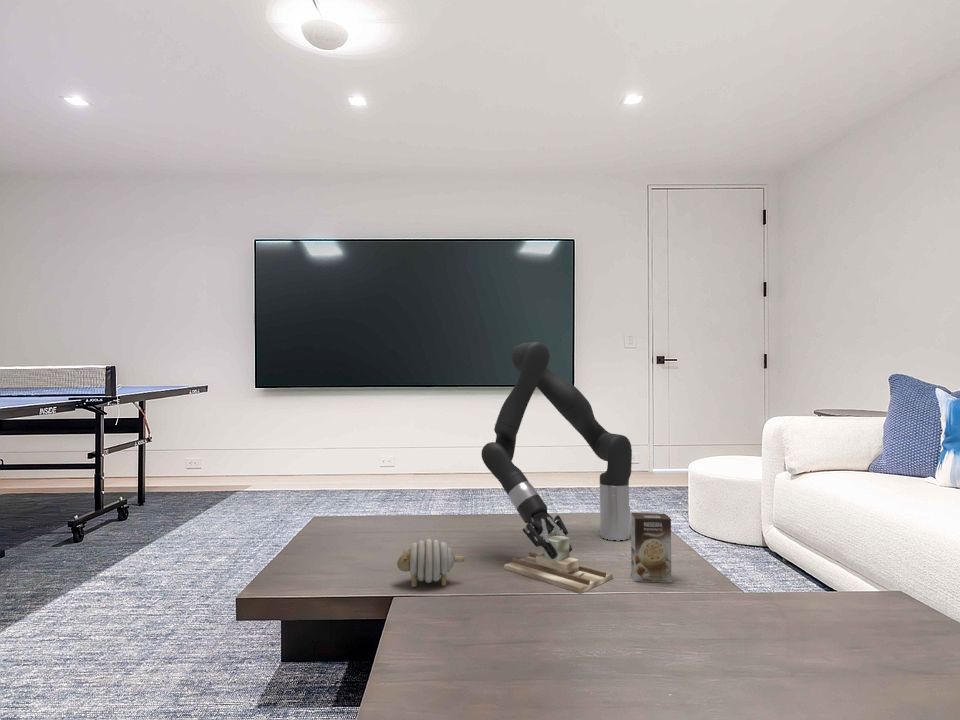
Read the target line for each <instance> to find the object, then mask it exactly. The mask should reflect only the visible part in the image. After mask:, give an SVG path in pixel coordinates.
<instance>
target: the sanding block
mask: <svg viewBox="0 0 960 720" xmlns="http://www.w3.org/2000/svg"><path fill="white" fill-rule="evenodd" d="M548 539H549V543H551V544H552V546H553V547H554V549H555V550H556V552H557V553H558V556H557V557H556V558H555V559H551V558H550V557H549V555H548V554H547V552H546V551H545V550H544V553H540V554H541V555H538V556H536V564H537V565H540V566H543V567H547V568H550V569H554V570H557V571H561V572H564V573H567V574H573V573H575V572H578V571H579V565H580V559H578V558H574V557H572V556H571V557H570V554H571V552H569V544H570V537H567V536H565V537H564V536H560V535H559V534H557V535H555V536H552V537H551V536H548Z"/></svg>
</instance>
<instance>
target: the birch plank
mask: <svg viewBox="0 0 960 720" xmlns="http://www.w3.org/2000/svg"><path fill="white" fill-rule="evenodd" d="M541 554H542V553H538V552H537V553H536V552H532V551H529V552H528V556H526V557H522V558H520V559H519V558H516V557H512V558H511V562H509V563H505V564H504V565H503V566H504V568H503V569H504V570H506V571H509V572H512V573H515V574H518V575H522V576H526V577H528V578H531V579H534V580H538V581H540V582H543V583H547V584H549V585H553V586H556V587H559V588H563V589H566V590H569V591H571V592H574V593H579V594H582V592H583V593H585V592H587V591H589V590H591V589H593V588H596V587H597V586H600V585H601V584H604V583H606V582H608V581H610V580H613V579H614V578H613V577H614V575H613V573H611V572H607V571H603V570H602V569H601V570H600V569H596V568H592V567H589V566H586V565H582V564H579V571H578V572H575V573H573V574H567V573H564V572H561V571H557V570H554V569H550V568H547V567H543V566H540V565H537V564H536V556H538V555H541Z"/></svg>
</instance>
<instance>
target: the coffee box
mask: <svg viewBox="0 0 960 720" xmlns="http://www.w3.org/2000/svg"><path fill="white" fill-rule="evenodd" d="M630 522H631V536H630V542H631V545H630V547H631V548H630V550H631V555H630V556H631V558H630V559H631V560H630V561H631V562H630V563H631V564H630V566H631V567H630V568H631V569H630V571H631V572H630V573H631V576H632V577H633V580H634V581H635V582H638V583H641V582H644V583H665V584H668V583H673V582H672V518H671V517H670V516H669V515H667V514H666V513H656V512H655V513H652V512H630Z"/></svg>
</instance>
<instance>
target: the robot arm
mask: <svg viewBox="0 0 960 720" xmlns="http://www.w3.org/2000/svg"><path fill="white" fill-rule="evenodd" d="M510 357H511V362H512V364H513V366H514V368H515V369H516V370H517V371H518V372H519V373H520V374H519V376H518V379H517V381H516V383H515V385H514V387H513V388H512V390H511V391H510V393H509V394H508V396H507V398H506V399H505V401H504V402H503V404H502V405H501V408H500V411H499V413H498V415H497V419H496V421H495V424H494V427H493V428H494V429H493V431H494V433H495V434H496V435H495V436H496V437H495V442H493V441H491V442H488V443H485V445H484V446H483V447H482V449H481V459H482V462H483V464H484V465H485V466H486V468H487V469H488V470H489V472H490V473H491V474H492V475H493V476H494V477H495V479H497V480H498V482H499V483H500V485H501V487H502V489H503V490H504V492H505V493H506V495H507V497H509V500H510V502H511V504H512V505H513V506H514V508H515V510H516V511H517V513H518V515H519V516H520V517H521V520H522V521H523V522H524V524H526V525H525V526H524V527H523V528H522V532H523V533H524V535H526V537H527V538H528V539H529V540H530V541H531V543H532V544H533V545H534V546H535V547H536V548H538V547H541V548H542V549H543V550H544V552H545V551H546V552H547V554H548V555H549V557H550V558H551V559H555V558H556V557H557V556H558V553H557V552H556V550H555V549H554V547H553V546H552V544H551V543H549V539H548V538H549V537H552V536H555V535H560V536H564V537H567V535H568V534H569V531H568V529H567V528H566V526H565V523H564V522H563V519H562V518H561V516H560V515H558V514H557V515H556V516H554V517H553V516H552V515H550V514H549V513H548V506H547V505H546V503H545V501H544V500H543V499H542V497H541V496H540V494H539V492H538V491H537V490H536V488H535V487H534V486H533V485H532V484H531V482H529V480H528V478H527V477H526V475H525V474H524V473H523V471H522V470H521V469H520V468H519V467H518V466H516V465H515V464H514V463H513V458H514V454H515V449H516V442H517V434H518V433H519V430H520V428H521V424H522V422H523V418H524V416H525V413H526V410H527V407H528V405H529V403H530V400H531V398H532V395H533V394H534V392H535V391H536V389H537V388H538V390H539V391H540V392H541V393H542V395H543V396H544V397H545V398H546V400H548V401H549V403H550V404H551V405H553V407H554V408H555V409H556V410H557V411H558V412H559V414H560V415H561V416H562V417H563V418H564V419H565V421H567V422H568V423H569V424H570V425H571V427H573V428H574V429H575V430H576V431H577V432H578V433H579V434H580V435H581V437H582V438H583V439H584V440H585V441H586V443H587V444H588V446H589V447H590V448H591V450H592V452H594V454H595V455H596V456H597V457H598V459H600V460H602V461H605V462H607V463H606V464H607V468H606V470H605V472H603V473H601V474H600V475H599V519H600V522H599V525H600V531H599V532H600V537H601V538H602V539H603V538H604V539H603V540H607V539H608V541H613V540H616V541H615V542H619V541H620V540H623V541H627V540H626V539H628V540H630V539H631V536H630V535H631V507H630V484H629V483H630V478H631V475H632V474H631V473H632V460H633V458H632V457H633V452H632V451H633V450H632V444H631V441H630V439H629V438H628V437H627V436H625V435H623V434H618V433H613V432H612V433H611V432H609V431H608V430H606V429H605V428H604V427H603V426H602V425H601V424H600V423H599V422H598V421H597V419H596V417H595V415H594V411H593V408H592V405H591V402H589V400H588V399H587V398H586V396H585V395H584V394H583V393H582V392H581V391H580V390H579V389H578V388H577V387H576V386H575V385H574V384H572V383H571V382H569V381H567V380H566V379H565V378H563V377H561V376H559V374H557V373H555V372H554V371H553V370H552V369H551V368H550V367H549V366H548V365H549V363H550V359H551V358H550V351H549V348H548V347H547V346H546V345H545V343H542V342H541V341H540V342H539V341H531V342H524V343H520V344H518V345H515V347H514V348H513V349H512V350H511V356H510ZM620 542H621V541H620ZM572 550H573V548H572V545H571V544H570V543H569V552H570V553H571V552H572Z"/></svg>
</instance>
